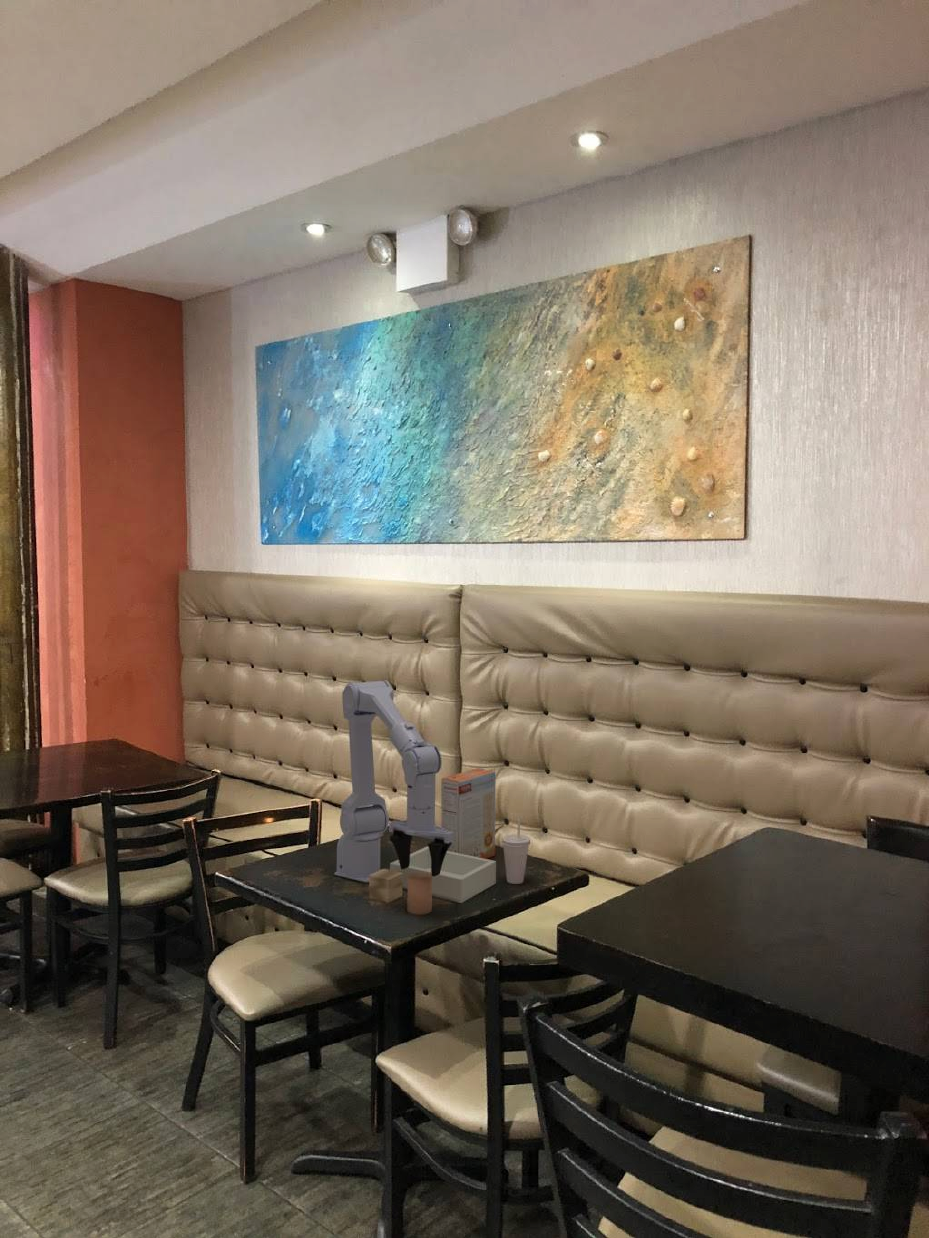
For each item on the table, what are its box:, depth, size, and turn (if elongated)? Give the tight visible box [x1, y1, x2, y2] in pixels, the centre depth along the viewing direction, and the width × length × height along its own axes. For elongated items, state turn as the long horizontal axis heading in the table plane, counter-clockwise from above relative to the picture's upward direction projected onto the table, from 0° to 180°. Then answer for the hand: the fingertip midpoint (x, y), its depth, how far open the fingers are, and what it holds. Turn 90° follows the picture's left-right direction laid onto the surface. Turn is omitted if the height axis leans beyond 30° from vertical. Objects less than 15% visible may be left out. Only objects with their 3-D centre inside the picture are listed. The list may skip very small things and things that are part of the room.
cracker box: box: [440, 767, 496, 859], centre depth 225 cm, size 14×6×21 cm, turn 141°
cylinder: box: [406, 872, 433, 915], centre depth 194 cm, size 5×5×7 cm
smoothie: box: [501, 818, 531, 885], centre depth 212 cm, size 6×6×14 cm
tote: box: [389, 846, 497, 904], centre depth 209 cm, size 18×14×5 cm
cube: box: [368, 868, 403, 904], centre depth 201 cm, size 5×5×5 cm
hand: (420, 871), depth 194 cm, fingers open, 7 cm apart
